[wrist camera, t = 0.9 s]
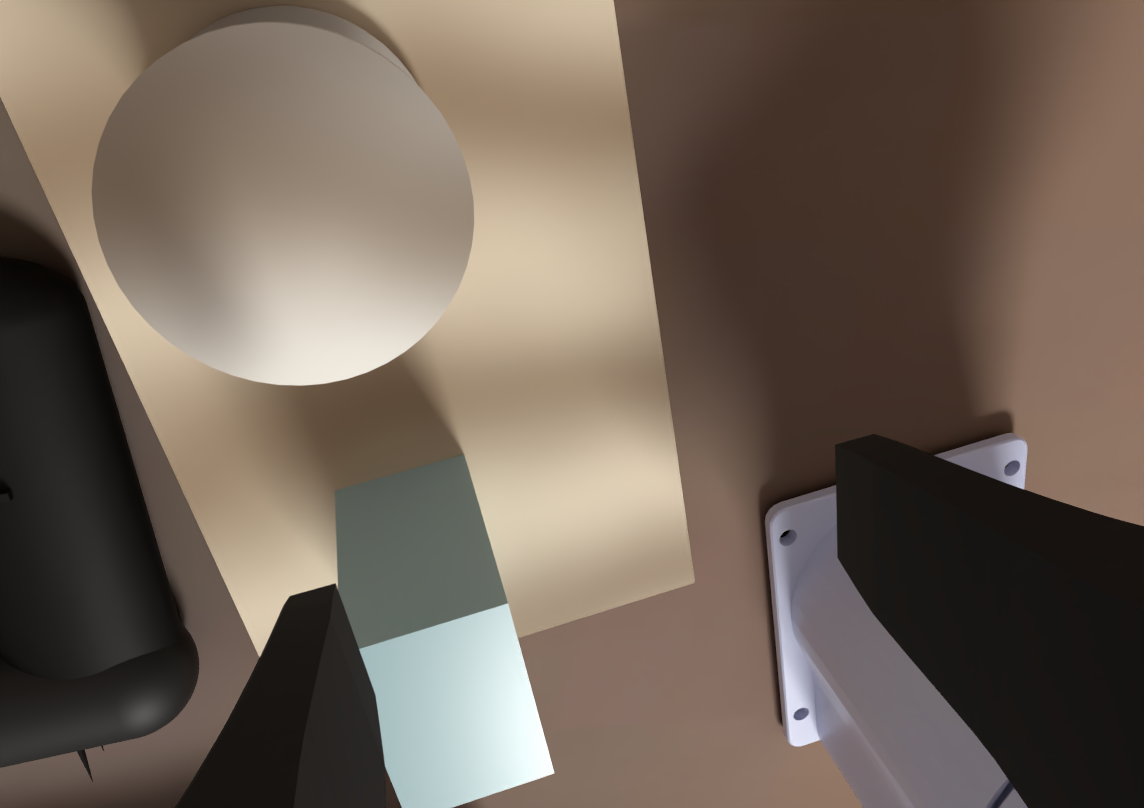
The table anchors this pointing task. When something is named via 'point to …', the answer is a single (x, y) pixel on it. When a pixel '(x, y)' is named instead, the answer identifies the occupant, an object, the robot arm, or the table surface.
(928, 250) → the table surface
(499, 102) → the winding board
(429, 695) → the pale blue block
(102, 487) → the door handle
